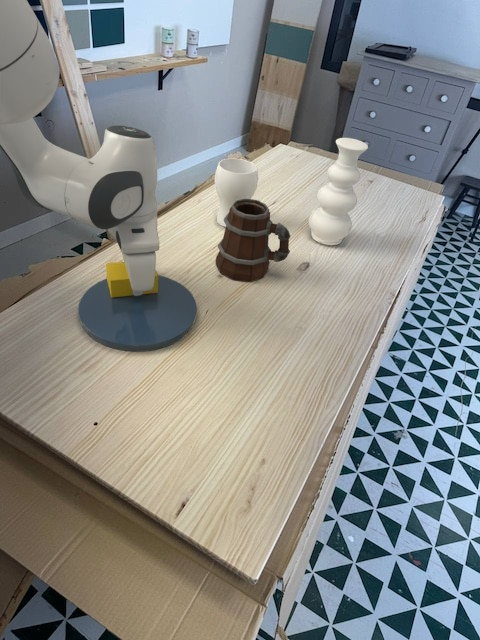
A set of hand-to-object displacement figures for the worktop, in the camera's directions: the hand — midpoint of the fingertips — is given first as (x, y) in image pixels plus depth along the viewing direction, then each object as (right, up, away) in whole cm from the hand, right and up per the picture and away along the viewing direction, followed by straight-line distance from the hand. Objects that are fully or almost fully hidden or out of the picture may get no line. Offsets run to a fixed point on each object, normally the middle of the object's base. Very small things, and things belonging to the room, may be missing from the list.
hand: (134, 282), depth 92 cm
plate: (+2, -6, -3) cm, 7 cm away
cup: (+19, +18, +30) cm, 40 cm away
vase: (+43, +13, +29) cm, 54 cm away
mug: (+23, +4, +13) cm, 27 cm away
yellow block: (0, -1, 0) cm, 1 cm away
